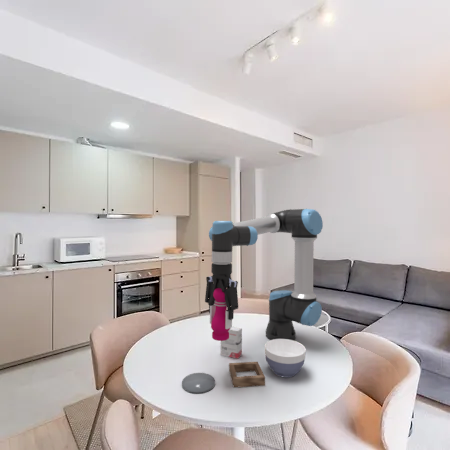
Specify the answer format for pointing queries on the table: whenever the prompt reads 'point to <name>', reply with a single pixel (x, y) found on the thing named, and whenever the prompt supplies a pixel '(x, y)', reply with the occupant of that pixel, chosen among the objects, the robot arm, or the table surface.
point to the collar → (246, 380)
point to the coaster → (198, 383)
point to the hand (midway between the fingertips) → (220, 325)
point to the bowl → (285, 356)
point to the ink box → (232, 343)
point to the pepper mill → (219, 317)
